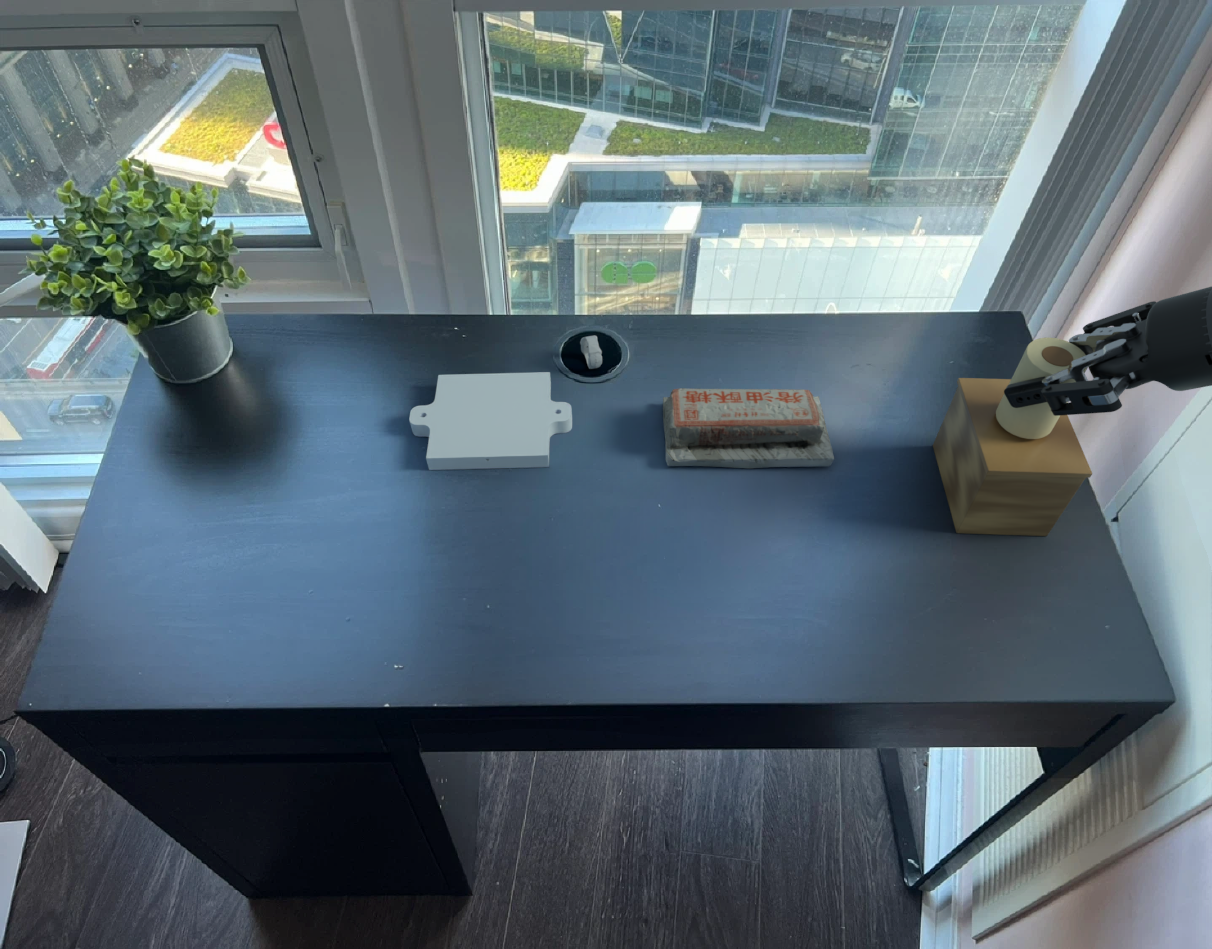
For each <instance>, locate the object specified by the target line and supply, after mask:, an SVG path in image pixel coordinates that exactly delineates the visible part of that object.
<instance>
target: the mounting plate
mask: <svg viewBox="0 0 1212 949" xmlns="http://www.w3.org/2000/svg"><path fill="white" fill-rule="evenodd" d="M551 381H552V379H551V372H550V371H541V372H537V371H536V372H501V373H500V372H499V373H495V372H493V373H466V374H465V373H460V374H459V373H458V374H438V376H437V382H436V388H435V395H434V400H433V402H431V403H430V404H425V405H424V404H423V405H416V406H414V407H413V408H412V409H411V410H410V413H409V419H408V421H409V425H410V428H411V432H412V434H413V435H414V436H415V437H419V438H421V437H422V438H423V437H425V438H428V442H427V443H428V444H427V450H426V454H425V460H426V463H427V464H426V465H427V467H428V471H444V470H445V471H448V470H449V471H451V470H489V469H490V470H491V469H524V468H525V469H526V468H529V469H530V468H531V469H532V468H549V467H550V444H551V443H550V441H551V437H552V436H554V435H556V434H566V433H570V432H571V430H572V429H573V410H572V408H573V407H572V405H571V404H570V403H569V402H565V401H554V400H552V398H551V396H552V395H551V394H552V382H551Z"/></svg>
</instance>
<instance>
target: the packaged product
mask: <svg viewBox="0 0 1212 949" xmlns="http://www.w3.org/2000/svg"><path fill="white" fill-rule="evenodd" d="M820 400H821V399H820V395H818V396H814V394H813V393H812V392H811V390H809V389H793V388H789V389H785V388H782V389H781V388H747V389H746V388H685V387H684V388H683V387H682V388H681V387H680V388H674V389H673V388H672V390H671V391H670V394H669V396H663V397H662V419H663V420H662V421H663V431H664V440H665V462H666V465H667V467H711V468H712V467H713V468H716V467H717V468H733V469H734V468H735V469H736V468H737V469H764V468H785V467H787V468H793V467H795V468H796V467H797V468H798V467H800V468H801V467H804V468H805V467H809V468H811V467H831V466H832V464H833V462H834V460H835V455H834V451H833V447H832V444H831V439H830V435H829V432H828V429H827V424H826V420H825V415H824V411H823V407H822V403H821V401H820Z"/></svg>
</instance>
